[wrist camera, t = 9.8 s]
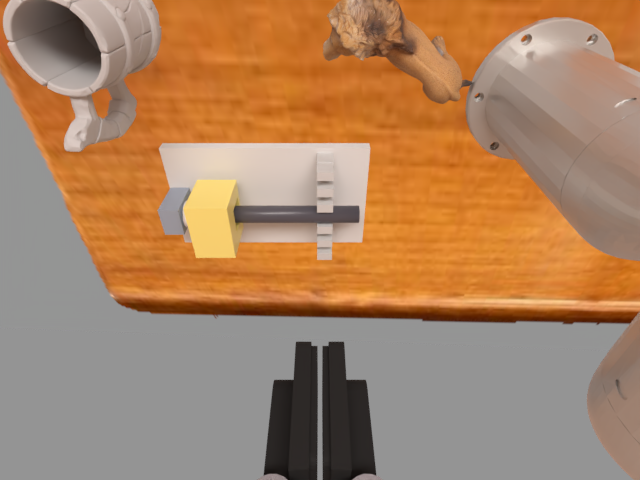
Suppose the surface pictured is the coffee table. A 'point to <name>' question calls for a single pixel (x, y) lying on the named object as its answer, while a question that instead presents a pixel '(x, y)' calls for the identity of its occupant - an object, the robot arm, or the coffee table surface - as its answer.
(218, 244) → the yellow sliding block
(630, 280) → the coffee table surface
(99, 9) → the mug
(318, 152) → the comb board
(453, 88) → the lion figurine
